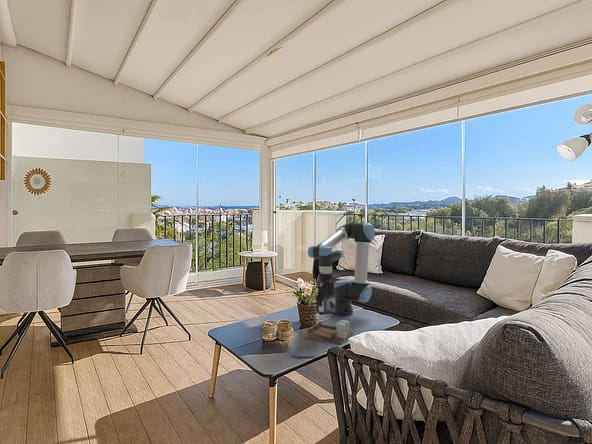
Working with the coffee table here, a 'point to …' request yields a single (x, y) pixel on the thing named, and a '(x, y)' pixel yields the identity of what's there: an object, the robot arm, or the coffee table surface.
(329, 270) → the robot arm
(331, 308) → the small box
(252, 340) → the coffee table surface
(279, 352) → the coffee table surface
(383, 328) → the coffee table surface
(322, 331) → the cradle
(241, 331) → the coffee table surface
